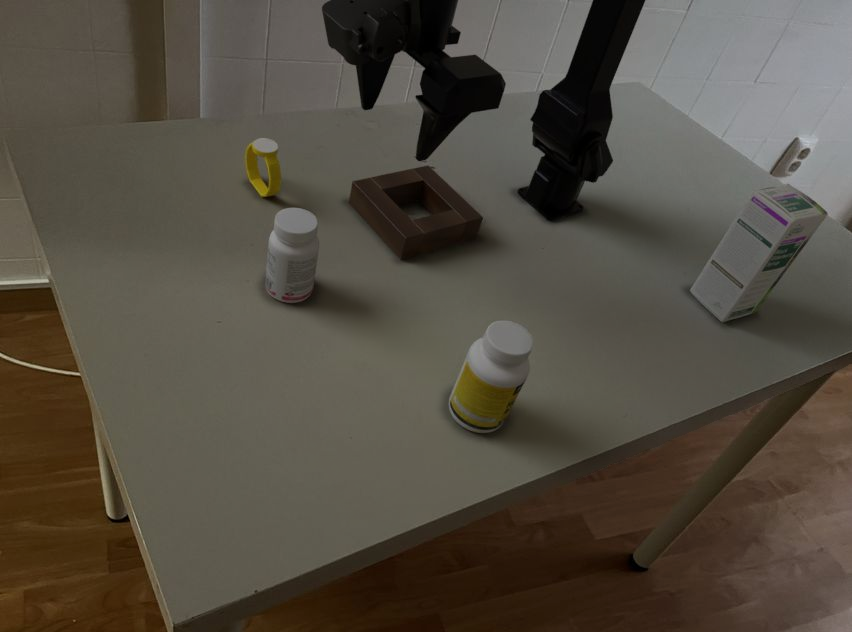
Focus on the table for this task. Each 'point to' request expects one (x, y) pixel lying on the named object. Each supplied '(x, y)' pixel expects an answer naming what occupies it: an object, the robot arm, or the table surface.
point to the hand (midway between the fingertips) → (393, 133)
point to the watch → (268, 151)
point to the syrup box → (757, 251)
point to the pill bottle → (292, 255)
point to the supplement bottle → (491, 377)
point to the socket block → (424, 234)
